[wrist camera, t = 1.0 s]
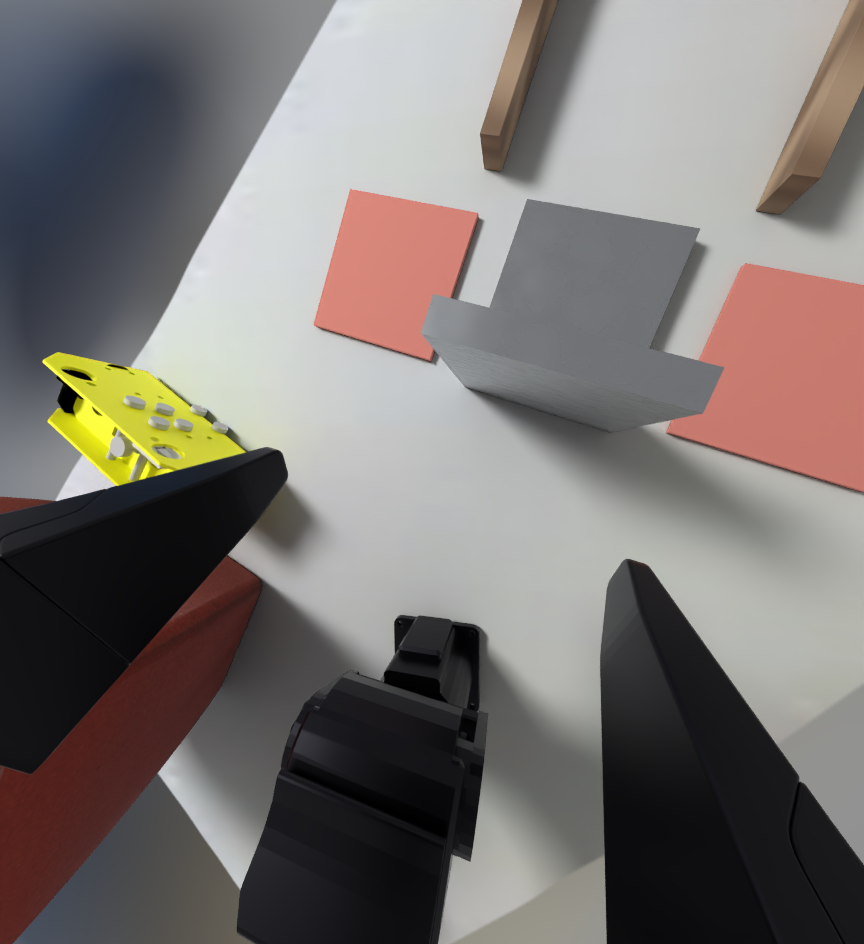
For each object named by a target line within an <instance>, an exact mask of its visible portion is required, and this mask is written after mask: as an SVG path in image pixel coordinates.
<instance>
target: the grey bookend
mask: <svg viewBox="0 0 864 944" xmlns="http://www.w3.org/2000/svg"><path fill="white" fill-rule="evenodd" d="M699 231H700V229H699V228H694V227H688V226H682V225H676V224H670V223H664V222H658V221H653V220H647V219H641V218H635V217H629V216H623V215H617V214H612V213H606V212H600V211H594V210H588V209H582V208H576V207H571V206H565V205H559V204H553V203H547V202H541V201H535V200H530V199H527V201H526V204H525V207H524V210H523V213H522V216H521V219H520V221H519V224H518V227H517V230H516V233H515V236H514V239H513V242H512V244H511V247H510V250H509V253H508V256H507V259H506V262H505V265H504V267H503V270H502V273H501V276H500V279H499V282H498V285H497V288H496V291H495V293H494V296H493V299H492V302H491V305H490V308H488V307H484V306H480V305H476V304H472V303H468V302H464V301H460V300H456V299H452V298H448V297H444V296H440V295H436V294H433V296H432V299H431V302H430V305H429V308H428V312H427V315H426V318H425V321H424V324H423V327H422V330H421V334H422V335H423V337H424V338H425V339H426V340H427V341H428V343H429V344H430V345H431V346H432V348H433V349H434V350H435V351H436V352H437V354H438V355H439V356H440V357H441V358H442V360H443V361H444V362H445V363H446V365H447V366H448V367H449V368H450V369H451V371H452V372H453V373H454V374H455V375H456V377H457V378H458V379H459V380H460V382H461V383H462V384H463V385H464V386H465V387H466V388H469V389H473V390H476V391H479V392H482V393H485V394H489V395H492V396H495V397H498V398H501V399H504V400H508V401H511V402H514V403H517V404H520V405H524V406H527V407H530V408H533V409H536V410H539V411H543V412H546V413H549V414H552V415H555V416H559V417H562V418H565V419H568V420H571V421H574V422H578V423H581V424H584V425H587V426H590V427H594V428H597V429H600V430H603V431H606V432H609V433H610V432H614V431H619V430H624V429H629V428H634V427H639V426H644V425H649V424H654V423H659V422H664V421H669V420H673V419H678V418H683V417H688V416H693V415H698V414H703V413H704V411H705V409H706V406H707V404H708V402H709V400H710V398H711V396H712V394H713V391H714V389H715V387H716V385H717V383H718V381H719V378H720V376H721V374H722V372H723V370H724V368H725V367H721V366H717V365H713V364H709V363H705V362H701V361H697V360H694V359H690V358H686V357H682V356H678V355H674V354H670V353H666V352H662V351H658V350H654V349H650V346H651V343H652V341H653V338H654V336H655V334H656V331H657V329H658V327H659V324H660V322H661V320H662V317H663V315H664V313H665V310H666V308H667V306H668V303H669V301H670V299H671V296H672V294H673V292H674V289H675V287H676V285H677V282H678V280H679V278H680V275H681V273H682V271H683V268H684V266H685V263H686V261H687V259H688V256H689V254H690V252H691V249H692V247H693V245H694V242H695V240H696V238H697V235H698V233H699Z"/></svg>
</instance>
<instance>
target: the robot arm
mask: <svg viewBox="0 0 864 944" xmlns="http://www.w3.org/2000/svg"><path fill="white" fill-rule="evenodd" d="M287 478H288V471H287V468H286V464H285V460H284V457H283V454H282V452H281V451H279V450H276V449H273V448H270V447H264V448H260V449H257V450H253V451H249V452H245V453H241V454H237V455H234V456H230V457H226V458H222V459H218V460H214V461H211V462H207V463H203V464H199V465H195V466H191V467H187V468H184V469H180V470H176V471H172V472H168V473H164V474H161V475H157V476H153V477H149V478H145V479H141V480H138V481H134V482H130V483H126V484H122V485H118V486H115V487H111V488H108V489H103V490H99V491H95V492H91V493H88V494H84V495H80V496H76V497H72V498H68V499H64V500H60V501H56V502H51V503H47V504H42V505H38V506H34V507H29V508H25V509H20V510H16V511H11V512H7V513H2V514H0V766H3V767H6V768H9V769H13V770H16V771H19V772H23V773H26V774H29V775H31V774H33V773H34V772H35V771H36V770H37V769H38V768H39V767H40V766H41V765H42V764H43V763H44V762H45V761H46V760H47V758H48V757H49V756H50V755H51V754H52V753H53V752H54V751H55V749H56V748H57V747H58V746H59V745H60V744H61V743H62V741H63V740H64V739H65V738H66V737H67V736H68V735H69V734H70V732H71V731H72V730H73V729H74V728H75V727H76V726H77V725H78V723H79V722H80V721H81V720H82V719H83V718H84V717H85V715H86V714H87V713H88V712H89V711H90V710H91V709H92V708H93V706H94V705H95V704H96V703H97V702H98V701H99V700H100V699H101V697H102V696H103V695H104V694H105V693H106V692H107V691H108V690H109V688H110V687H111V686H112V685H113V684H114V683H115V682H116V680H117V679H118V678H119V677H120V676H121V675H122V674H123V673H124V671H125V670H126V669H127V668H128V667H129V666H130V664H131V663H132V662H133V661H134V660H135V659H136V657H137V656H138V655H139V654H140V653H141V652H142V651H143V650H144V648H145V647H146V646H147V645H148V644H149V643H150V642H151V641H152V639H153V638H154V637H155V636H156V635H157V634H158V633H159V632H160V630H161V629H162V628H163V627H164V626H165V625H166V624H167V623H168V621H169V620H170V619H171V618H172V617H173V616H174V615H175V614H176V612H177V611H178V610H179V609H180V608H181V607H182V606H183V604H184V603H185V602H186V601H187V600H188V599H189V598H190V597H191V595H192V594H193V593H194V592H195V591H196V590H197V589H198V588H199V586H200V585H201V584H202V583H203V582H204V581H205V580H206V579H207V577H208V576H209V575H210V574H211V573H212V572H213V571H214V570H215V568H216V567H217V566H218V565H219V564H220V563H221V562H222V560H223V559H224V558H225V557H226V556H227V555H228V554H229V553H230V551H231V550H232V549H233V548H234V547H235V546H236V545H237V544H238V542H239V541H240V540H241V539H242V538H243V537H244V536H245V535H246V533H247V532H248V531H249V530H250V529H251V528H252V527H253V525H254V524H255V523H256V522H257V520H258V519H259V518H260V517H261V515H262V514H263V512H264V511H265V510H266V508H267V507H268V506H269V504H270V503H271V501H272V500H273V499H274V497H275V496H276V495H277V493H278V492H279V491H280V489H281V488H282V486H283V485H284V484H285V482H286V481H287ZM399 621H402V622H403V625H402V624H400V622H399ZM471 630H473V631H474V632H475V634H471V633H470V631H471ZM394 633H395V655H394V657H393V659H392V660H391V662H390V664H389V665H388V667H387V669H386V670H385V672H384V676H383V677H382V679H381V681H379V680H376V679H372V678H369V677H366V676H363V675H360V674H359V672H357V671H354V670H349V671H348V672H346V673H345V674H343V675H342V676H340V677H339V678H337V679H336V680H334V681H333V682H331V683H330V684H328V685H327V686H325V687H324V688H322V689H321V690H319V691H318V692H316V693H315V694H314V695H313V696H312V697H311V698H310V699H309V700H308V701H307V702H306V703H305V704H304V706H303V708H302V710H301V712H300V714H299V716H298V718H297V720H296V721H295V722H294V724H293V726H292V728H291V731H290V735H289V738H288V741H287V743H286V746H285V750H284V754H283V757H282V764H281V770H280V772H279V774H278V776H277V780H276V785H275V791H274V796H273V801H272V804H271V808H270V811H269V814H268V818H267V821H266V824H265V827H264V830H263V833H262V836H261V838H260V841H259V844H258V846H257V849H256V851H255V854H254V856H253V859H252V861H251V864H250V866H249V869H248V872H247V874H246V877H245V879H244V882H243V884H242V887H241V891H240V898H239V909H238V919H237V933H238V934H239V935H240V936H242V937H243V938H245V939H247V940H248V941H250V942H252V943H253V944H438V940H439V934H440V928H441V922H442V917H443V911H444V905H445V899H446V894H447V888H448V882H449V876H450V871H451V865H452V858H453V855H455V856H458V857H460V858H463V859H465V860H467V861H471V855H472V849H473V842H474V835H475V827H476V820H477V812H478V805H479V797H480V789H481V781H482V772H483V763H484V754H485V743H486V731H487V720H488V713H485V712H482V711H479V713H478V712H477V711H478V709H479V689H480V631H479V628H478V627H477V626H476V625H474V624H467V623H459V622H452V621H451V620H450V619H443V618H435V617H427V616H418V617H413V616H405V615H400V616H398V617H397V618H396V620H395V622H394ZM600 678H601V720H602V762H603V804H604V846H605V887H606V929H607V944H864V865H863V863H862V862H861V860H860V859H859V858H858V856H857V855H856V854H855V852H854V851H853V850H852V848H851V847H850V846H849V844H848V843H847V841H846V840H845V839H844V837H843V836H842V835H841V833H840V832H839V831H838V829H837V828H836V826H835V825H834V824H833V822H832V821H831V820H830V818H829V817H828V815H826V813H825V811H824V810H823V809H822V807H821V806H820V804H819V803H818V802H817V800H816V799H815V797H814V796H813V795H812V793H811V792H810V790H809V789H808V788H807V786H806V785H805V784H804V783H802V782H799V776H798V774H797V772H796V771H795V770H794V768H793V767H792V765H791V764H790V763H789V762H788V760H787V759H786V757H785V756H784V754H783V753H782V752H781V750H780V749H779V748H778V746H777V745H776V743H775V742H774V740H773V739H772V738H771V736H770V735H769V733H768V732H767V731H766V729H765V728H764V726H763V725H762V724H761V722H760V721H759V719H758V718H757V717H756V715H755V714H754V712H753V711H752V710H751V708H750V707H749V705H748V704H747V703H746V701H745V700H744V698H743V697H742V696H741V694H740V693H739V691H738V690H737V689H736V687H735V686H734V684H733V683H732V682H731V680H730V679H729V677H728V676H727V675H726V673H725V672H724V670H723V669H722V668H721V666H720V665H719V663H718V662H717V661H716V659H715V658H714V656H713V655H712V654H711V652H710V651H709V649H708V648H707V647H706V645H705V644H704V642H703V641H702V640H701V638H700V637H699V635H698V634H697V633H696V631H695V630H694V628H693V627H692V626H691V624H690V623H689V621H688V620H687V619H686V617H685V616H684V614H683V613H682V612H681V610H680V609H679V608H678V606H677V605H676V603H675V602H674V601H673V599H672V598H671V596H670V595H669V594H668V592H667V591H666V589H665V588H664V587H663V585H662V584H661V582H660V581H659V580H658V578H657V577H656V575H655V574H654V573H653V571H652V570H651V568H650V567H649V566H648V565H646V564H644V563H641V562H637V561H634V560H631V559H625V560H624V561H623V562H622V563H621V564H620V566H619V567H618V569H617V570H616V572H615V573H614V575H613V576H612V578H611V579H610V581H609V583H608V587H607V593H606V603H605V613H604V623H603V633H602V643H601V655H600ZM470 703H473V704H475V705H471V704H470Z"/></svg>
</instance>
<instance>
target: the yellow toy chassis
mask: <svg viewBox="0 0 864 944" xmlns="http://www.w3.org/2000/svg"><path fill="white" fill-rule="evenodd" d="M43 363H44V364H45V365H46V366H47V367H49V368H50V369H51V370H52V371H53V372H54V373H55V374H56V375H57V379H58V380H59V381H61V382H62V383H63V387H62V389H61V392H60V394H59V397H58V400H57V401H58V403H59V405H60V406H61V409H60V408H58V409H57V410H56V411H55V412H54V413H53V414H52V416H51V417H50V418H49V420H48V422H49V423H50V424H51V425H52V426H53V427H54V428H55V429H56V430H57V431H58V432H59V433H60V434H61V435H62V436H63V437H65V438H66V439H67V440H68V441H69V442H70V443H71V444H72V445H73V446H74V447H75V448H76V449H77V450H78V451H80V452H81V453H82V454H83V455H84V456H85V457H86V458H87V459H88V460H89V461H90V462H91V463H92V464H93V465H94V466H95V467H97V468H98V469H99V470H100V471H101V472H102V473H103V474H104V475H105V476H106V477H107V478H108V479H109V480H110V481H112V482H113V483H114V484H115V485H116V486H118V485H122V484H126V483H130V482H134V481H138V480H141V479H145V478H149V477H153V476H157V475H161V474H164V473H168V472H172V471H176V470H180V469H184V468H187V467H191V466H195V465H199V464H203V463H207V462H211V461H214V460H218V459H222V458H226V457H230V456H234V455H237V454H241V453H245V451H244V450H243V449H242V448H240V447H239V446H238V445H237V444H236V443H234V442H233V441H232V440H231V439H229V438H228V437H227V436H226V435H225V433H227V431H228V427H227V426H226V425H224V424H222V423H219V422H214V423H213V425H212V424H211V423H210V422H209V421H207V420H206V419H205V418H204V417H203V416H205V415H206V413H207V410H206V409H205V408H203V407H201V406H198V405H192V407H190V406H189V405H188V404H187V403H185V402H184V401H183V400H182V399H180V398H179V397H178V396H177V395H176V394H174V393H173V392H172V391H171V390H169V389H168V388H167V387H166V386H165V385H163V384H162V383H161V382H160V381H158V380H157V379H156V378H155V377H154V376H152V375H151V374H150V373H149V372H147V371H143V370H138V369H133V368H129V367H124V366H120V365H115V364H110V363H105V362H101V361H96V360H92V359H87V358H82V357H78V356H73V355H68V354H64V353H59V352H57V353H55V354H53V355H51V356H49V357H48V358H46V359H44V360H43ZM63 369H70V371H68V370H63Z"/></svg>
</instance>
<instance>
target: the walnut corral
mask: <svg viewBox="0 0 864 944" xmlns="http://www.w3.org/2000/svg"><path fill="white" fill-rule="evenodd" d="M557 2H558V0H522V4H521V7H520V10H519V13H518V16H517V19H516V22H515V26H514V29H513V32H512V35H511V38H510V41H509V44H508V48H507V51H506V54H505V57H504V60H503V63H502V66H501V70H500V73H499V76H498V79H497V82H496V85H495V88H494V91H493V95H492V98H491V101H490V104H489V107H488V110H487V113H486V117H485V120H484V123H483V126H482V129H481V132H480V137H481V145H482V154H483V162H484V169H490V170H496V171H502V168H503V165H504V162H505V159H506V156H507V153H508V150H509V147H510V144H511V141H512V138H513V135H514V132H515V129H516V126H517V123H518V120H519V117H520V114H521V111H522V108H523V105H524V102H525V99H526V96H527V93H528V90H529V86H530V83H531V80H532V77H533V74H534V71H535V68H536V65H537V62H538V59H539V56H540V53H541V50H542V47H543V44H544V41H545V38H546V35H547V32H548V29H549V26H550V23H551V20H552V17H553V14H554V11H555V8H556V5H557ZM863 86H864V0H850V1H849V3H848V5H847V8H846V10H845V12H844V14H843V16H842V19H841V21H840V23H839V25H838V28H837V30H836V32H835V34H834V37H833V39H832V41H831V43H830V46H829V48H828V50H827V52H826V55H825V57H824V59H823V61H822V63H821V66H820V68H819V70H818V72H817V75H816V77H815V79H814V81H813V84H812V86H811V88H810V90H809V93H808V95H807V97H806V99H805V101H804V104H803V106H802V108H801V110H800V113H799V115H798V117H797V119H796V122H795V124H794V126H793V128H792V131H791V133H790V135H789V137H788V140H787V142H786V144H785V146H784V148H783V151H782V153H781V155H780V157H779V160H778V162H777V164H776V166H775V169H774V171H773V173H772V175H771V178H770V180H769V182H768V184H767V186H766V189H765V191H764V193H763V195H762V198H761V200H760V202H759V204H758V207H757V209H756V211H762V212H768V213H775V214H781V213H782V212H783V211H784V210H785V209H787V208H788V207H789V206H790V205H791V204H792V203H793V202H794V201H795V200H796V199H798V198H799V197H800V196H801V195H802V194H803V193H804V192H805V191H806V190H808V189H809V188H810V187H811V186H812V185H813V184H814V183H815V182H816V181H818V180H819V179H820V178H821V176H822V174H823V172H824V169H825V167H826V165H827V163H828V161H829V159H830V157H831V155H832V152H833V150H834V148H835V146H836V144H837V142H838V140H839V137H840V135H841V133H842V131H843V129H844V127H845V125H846V122H847V120H848V118H849V116H850V114H851V112H852V110H853V108H854V105H855V103H856V101H857V99H858V97H859V95H860V93H861V90H862V88H863Z"/></svg>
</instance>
